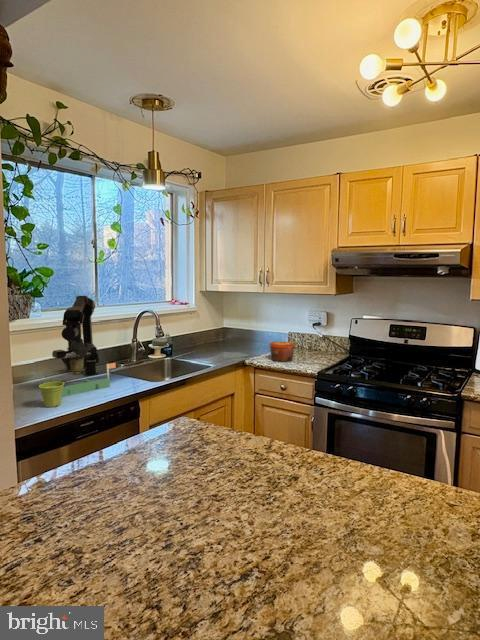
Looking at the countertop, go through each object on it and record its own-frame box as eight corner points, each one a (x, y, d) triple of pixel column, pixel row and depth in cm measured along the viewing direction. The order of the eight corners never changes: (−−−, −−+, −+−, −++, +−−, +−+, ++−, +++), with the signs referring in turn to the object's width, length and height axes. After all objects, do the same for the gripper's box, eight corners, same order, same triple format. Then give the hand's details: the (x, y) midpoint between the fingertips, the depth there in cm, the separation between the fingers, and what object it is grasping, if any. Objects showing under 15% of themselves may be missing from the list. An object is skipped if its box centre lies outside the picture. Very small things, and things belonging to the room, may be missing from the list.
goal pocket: (43, 392, 187) (41, 368, 186) (104, 380, 208) (103, 359, 207) (53, 398, 179) (52, 373, 177) (116, 385, 199) (115, 362, 198)
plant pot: (60, 408, 165) (59, 387, 164) (36, 409, 164) (34, 388, 163) (68, 401, 174) (67, 381, 173) (45, 402, 174) (44, 381, 173)
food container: (280, 356, 270) (280, 340, 269) (300, 360, 259) (300, 343, 257) (263, 360, 259) (263, 343, 258) (283, 364, 248) (284, 346, 246)
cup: (63, 375, 190) (63, 358, 189) (77, 371, 197) (76, 355, 196) (75, 377, 187) (74, 359, 186) (88, 373, 193) (87, 356, 192)
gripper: (61, 341, 178) (62, 376, 179) (102, 336, 191) (103, 369, 193) (50, 338, 185) (52, 372, 187) (91, 333, 199) (92, 365, 200)
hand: (76, 370), depth 192 cm, fingers closed on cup, 6 cm apart
